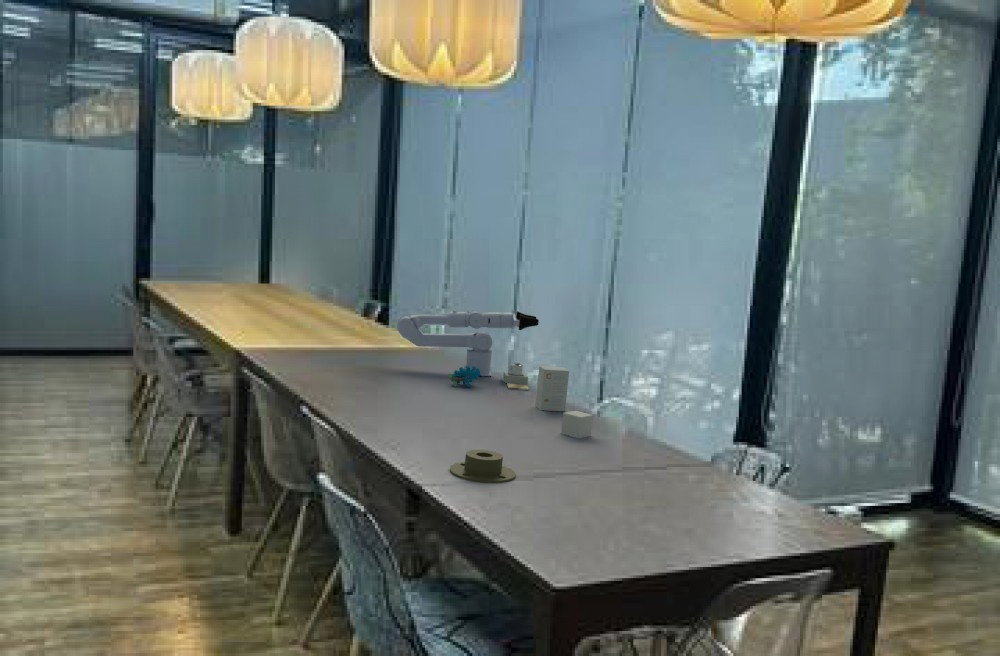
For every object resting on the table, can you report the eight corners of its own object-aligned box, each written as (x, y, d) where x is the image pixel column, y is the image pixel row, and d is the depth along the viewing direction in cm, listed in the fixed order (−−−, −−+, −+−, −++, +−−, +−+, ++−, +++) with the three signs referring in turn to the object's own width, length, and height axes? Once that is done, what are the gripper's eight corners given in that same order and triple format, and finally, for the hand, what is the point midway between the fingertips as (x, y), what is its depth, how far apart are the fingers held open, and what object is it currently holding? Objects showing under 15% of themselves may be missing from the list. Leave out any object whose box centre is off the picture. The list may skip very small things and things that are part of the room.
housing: (504, 383, 320) (505, 375, 320) (502, 379, 328) (503, 371, 328) (527, 385, 321) (528, 377, 320) (524, 381, 329) (525, 373, 328)
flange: (480, 442, 216) (437, 451, 204) (530, 458, 207) (488, 467, 195) (478, 462, 217) (435, 471, 205) (528, 478, 207) (486, 489, 196)
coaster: (508, 388, 311) (508, 387, 311) (506, 384, 318) (506, 383, 318) (528, 390, 312) (528, 388, 312) (526, 386, 319) (526, 384, 319)
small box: (558, 407, 289) (563, 366, 287) (565, 411, 283) (569, 370, 281) (534, 406, 287) (538, 365, 285) (540, 410, 280) (544, 369, 279)
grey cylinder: (509, 383, 322) (511, 363, 321) (508, 381, 326) (510, 361, 326) (521, 384, 322) (523, 364, 322) (520, 382, 327) (522, 362, 326)
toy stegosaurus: (477, 379, 314) (481, 363, 306) (481, 393, 311) (485, 377, 303) (446, 382, 312) (449, 365, 304) (449, 396, 308) (452, 380, 300)
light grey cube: (578, 438, 249) (580, 417, 248) (560, 433, 253) (563, 412, 252) (591, 436, 254) (593, 414, 253) (573, 431, 257) (575, 410, 257)
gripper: (502, 311, 325) (539, 312, 326) (499, 307, 339) (535, 307, 340) (501, 331, 325) (539, 331, 327) (498, 325, 340) (534, 326, 341)
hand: (537, 320), depth 333 cm, fingers open, 7 cm apart
